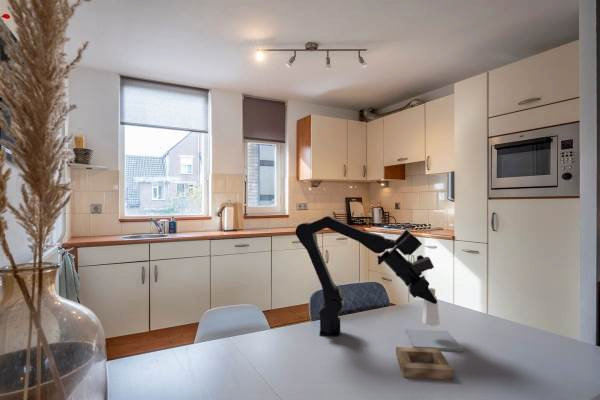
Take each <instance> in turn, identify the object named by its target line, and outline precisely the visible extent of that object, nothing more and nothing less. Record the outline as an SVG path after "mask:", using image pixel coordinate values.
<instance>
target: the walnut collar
mask: <svg viewBox="0 0 600 400" xmlns="http://www.w3.org/2000/svg"><path fill="white" fill-rule="evenodd" d="M395 356H396V359H397V362H398V365H399V368H400V371H401V375H402V378H411V379H412V378H414V379H417V378H418V379H432V380H445V381H446V380H447V381H448V380H449V381H450V380H451V381H453V380H454V371H453V370H454V369H453V368H452V367H451V365H450V363H449V362H448V360H447V358H445V356H444V354H443V353H442V350H439V349H429V348H413V347H403V346H395ZM412 361H415V362H412ZM416 361H419V363H418V362H416ZM420 362H432V363H420Z"/></svg>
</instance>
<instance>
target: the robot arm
mask: <svg viewBox="0 0 600 400" xmlns="http://www.w3.org/2000/svg"><path fill="white" fill-rule="evenodd" d="M325 229H328V230H331V231H333V232H335V233H338V234H340V235H342V236H345V237H347V238H349V239H352V240H354V241H356V242H358V243H360V244H361V245H363V246H364V247H365V248H367V249H368V250H370V251H371V252H373V253H375V254H378V255H377V256H376V257H377V265H379V266H380V265H381V264H382V263H384V264H385V265H386V266H388V267H389V269H390V270H391V271H392V272H393V273H394V275H396V276H397V278H398V277H399V278H400V280H402V282H403V283H404V285H405V286H406V287H408V292H409V294H410V295H411V296H412V297H413V298H416V297H418V298H420V299H422V300H424V299H425V300H427V301H429V302H431V303H434V304H436V303H438V299H437V300H436V299H435V297H434V296H433V295H432V293H431V292H430V290H429V289H428V288H429V287H430V281H428V280H427V279H426V276H425V275H423V273H424V272H425V271H428V270H432V269H434V268H435V266H434V264H433V262H432V260H431V258H430V257H429V256H425V257H424V256H423V255H422V254H420V255H417V256H416V260H415V261H413V262H411V261H410V260H407V259H406V258H405V257H404V256H408V255H409V256H412V255H413V254H414V252H415V251H417V250H418V249H419V248H420V247H421V246H423V243H422V242H421V241H420V240H419V239H418V238H417V237H416V236H415V235H413V234H412V233H411V232H410V231H409V230H408V229H405V230H404V231H403V232H402V234H400V235H399V236H398V237H397V238H395V239H391V238H385V236H384V235H382V234H378V233H374V232H370V231H364V230H361V229H359V228H356V227H354V226H352V225H349V224H347V223H346V222H343V221H340V220H338V219H335V218H334V217H332V216H329V215H327V216H324V217H322V218H321V219H318V220H316V221H313V222H304V223H300V224H298V225H297V226H296V228H295V235H296V237H297V239H298V241H299V243H301V245H302V246H303V247H304V249H305V251H307V253H308V256H309V259H310V261H311V263H312V265H313V268H314V270H315V273H316V276H317V279H318V280H319V283H320V285H321V288H322V294H323V301H324V303H323V304H322V306H321V307H320V310H318V315H319V336H328V337H339V336H340V333H341V317H340V316H339V312H341V310H342V308H343V306H344V302H345V296H346V295H345V293H344V292H343V290H342V285H341V284H339V285H338V286H337V285H336V284H335V282H334V281H333V279H332V275H331V273H330V272H329V269H328V267H327V264H326V261H325V259H324V256H323V255H322V252H321V250H320V247H319V245H318V238H317V237H318V236H317V232H321V231H323V230H325ZM397 249H398V250H399V251H400V252H399V251H398V250H397ZM389 250H390V251H389ZM401 253H402V254H403V255H404V256H403V255H402V254H401ZM379 254H381V255H379Z"/></svg>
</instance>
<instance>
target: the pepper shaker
mask: <svg viewBox="0 0 600 400" xmlns="http://www.w3.org/2000/svg"><path fill="white" fill-rule="evenodd" d="M428 289H429V290H430V292H431V293H432V295H433V296H434V297H435V299H436V300H437V301H438V298H437V296H436V289H435V288H433V287H428ZM423 300H424V301H423V309H422V317H421V318H422V319H421V322H422V323H423V324H424V325H426V326H432V327H437V326H439V325H440V314H439V305H438V302H437V303H436V304H434V303H431V302H429V301H427V300H425V299H423Z"/></svg>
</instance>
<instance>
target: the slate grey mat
mask: <svg viewBox="0 0 600 400" xmlns="http://www.w3.org/2000/svg"><path fill="white" fill-rule="evenodd" d="M404 332H405V334H406V335H407V338H408V340H409V342H410V345H411V347H412V348H429V349H439V350H440V351H447V352H463V348H462V347H461V345H460V344H459V343H458V342H457V341H456V339H455V338H454V336H453V335H452V334H451V333H450V332H449V331H448V330H437V329H435V330H434V329H412V328H411V329H409V328H406V329H405V331H404Z"/></svg>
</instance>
